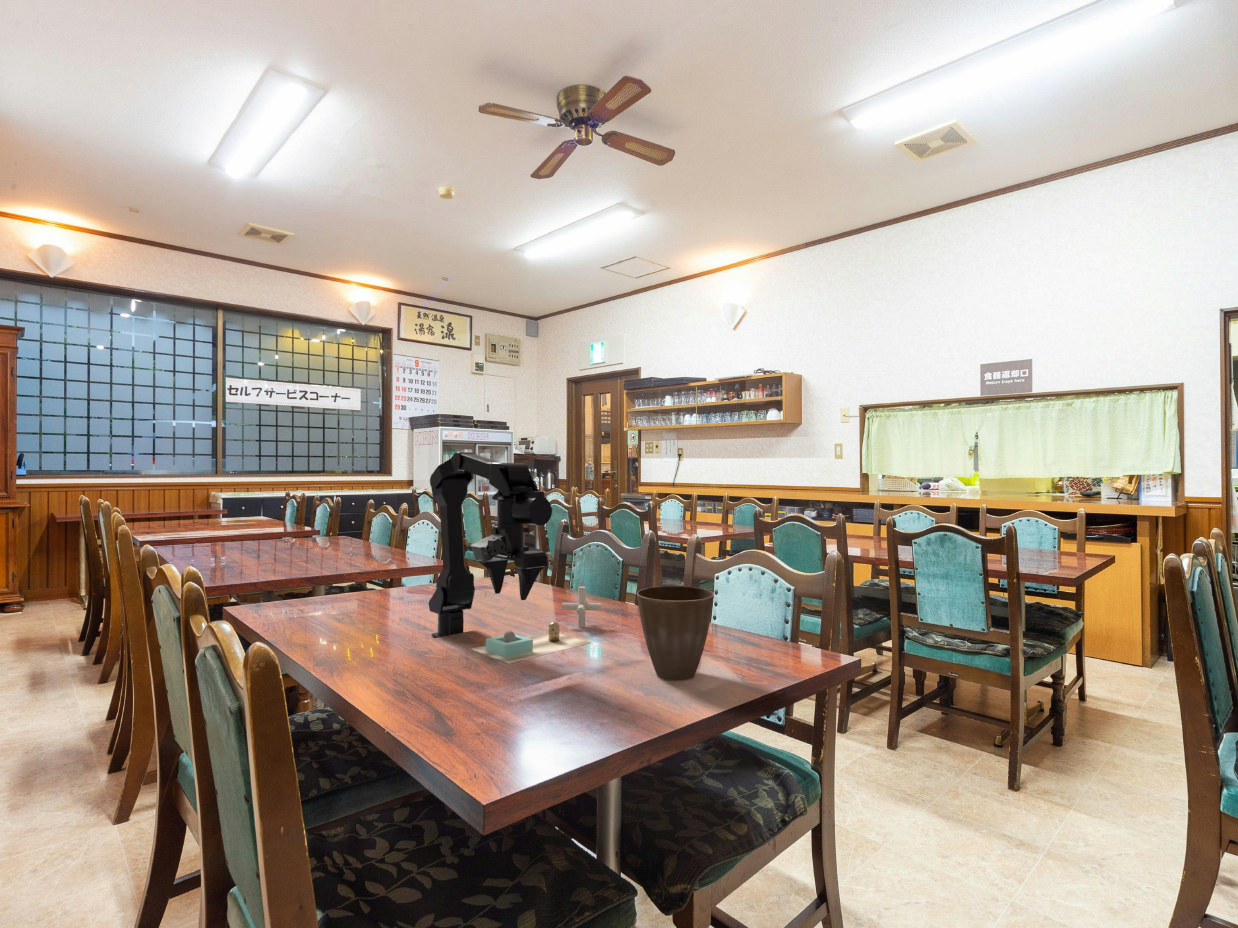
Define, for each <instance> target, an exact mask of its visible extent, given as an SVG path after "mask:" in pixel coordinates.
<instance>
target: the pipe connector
mask: <svg viewBox="0 0 1238 928" xmlns="http://www.w3.org/2000/svg"><path fill="white" fill-rule="evenodd" d="M586 588H587V587H586V586H578V590H577V591H578V595H577V596H578V597H577V598H578V600H577V601H578V602H562V603H561V611H576V613H577V615H578V616H577V617H578V618H577V619H578V620H577V622H578V623H577V627H578V628H586V611H602V608H603V604H602V602H600V603H599V602H598V603H597V602H587V600H586V597H587V596H586V591H587V590H586Z"/></svg>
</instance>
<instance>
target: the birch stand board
mask: <svg viewBox="0 0 1238 928" xmlns="http://www.w3.org/2000/svg"><path fill="white" fill-rule="evenodd" d="M515 634H516V633H515V632H513V631H512V630H508V631H506V632H504V634H503V635H504V642H506V643H508V642H513V641H515ZM526 637H527V638H530V639H533V651H532V652H528V653H524V654H520V655H515V656H511V657H507V658H503V657H501V656H498V655H495V654H493V653H490V652H487V651H486V645H482V646H477V647H473V648H471V650H472V651H475V652H478V653H480V654H482V655H485V656H488V657H490V658H493V659H495V660H498V661H501V662H503V663H506V664H512V663H517V662H521V661H524V660H529V659H533V658H536V657H537V658H538V657H540V656H541V657H542V656H545V655H550V654H553V653H557V652H561V651H567V650H569V649H574V648H578V647H581V646H586V645H589V644H592V642H590V641H588V640H587V641H586V640H583V639H580V638H576V637H573V636H570V635H566V634H563V633H560V632H559V641H558V642H549V631H547V632H541V633H537V634H532V635H528V636H526Z"/></svg>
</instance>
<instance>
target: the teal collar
mask: <svg viewBox="0 0 1238 928" xmlns="http://www.w3.org/2000/svg"><path fill="white" fill-rule="evenodd" d="M514 634H515V641H513V642H508V643H506V642H504V634H503V635H498V636H494V637H493V636H492V637H489V638H485V646H486V651H487V652H490V653H493V654H495V655H498V656H501V657H503V658H507V657H511V656H515V655H520V654H524V653H528V652H532V651H533V639H530V638H527V636H523V635H520V634H517V633H514Z"/></svg>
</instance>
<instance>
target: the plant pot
mask: <svg viewBox="0 0 1238 928" xmlns="http://www.w3.org/2000/svg"><path fill="white" fill-rule="evenodd" d="M636 598H637V604H638V610H639V611H638V613H639V618H640V622H641V628H642V631H643V636H644V639H645V644H646V647H647V651H648V655H649V657H650V660H651V664H652V666H653V669H654V671H655V674H656V676H657V677H658V678H660V679H662V680H666V681H672V682H681V681H682V682H683V681H687V680H691V679H692V678H694V677H695V675H696V673H697V671H698V667H699V665H700V662H701V660H702V659H701V658H702V656H703V653H704V649H705V645H706V641H707V638H708V634H709V629H710V625H711V624H710V623H711V618H712V612H713V605H714V598H715V593H714V592H713V591H712V590H709V589H705V588H701V587H695V586H684V585H663V586H662V585H661V586H651V587H647V588H642V589H640V590H638V591H637V592H636Z"/></svg>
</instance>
